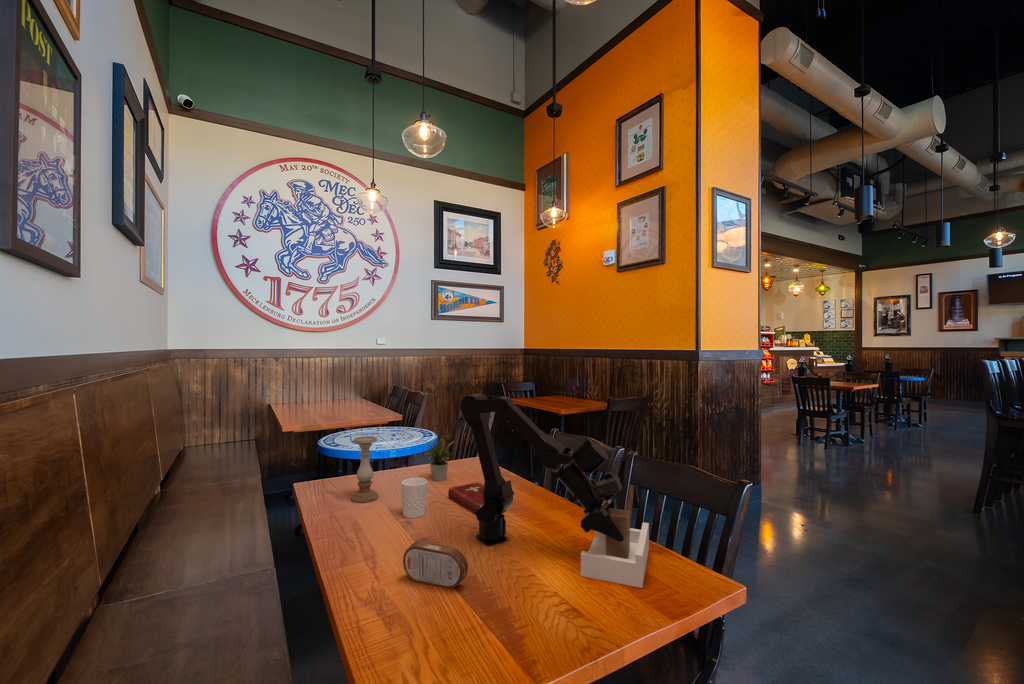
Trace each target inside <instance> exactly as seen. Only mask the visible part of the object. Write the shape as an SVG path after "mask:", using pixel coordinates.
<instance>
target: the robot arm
mask: <svg viewBox="0 0 1024 684" xmlns="http://www.w3.org/2000/svg"><path fill="white" fill-rule="evenodd" d="M459 409H460V412H461V415H462V416H463V419H464V421H465V422H466V424H467V425H468V426H469V427H470V429H471V431H472V434H473V440H474V444H475V448H476V452H477V455H478V460H479V463H480V468H481V473H482V475H483V480H484V483H483V484H484V491H483V498H484V505H483V506H482V507H481V508H480V509H479V510H477V511H476V515H475V517H476V519H477V521H478V534H476V535H475V538H476V539H478V540H479V541H480V542H481V543H482V544H484V545H486V546H487V547H488V546H492V545H495V544H500V543H502V542H506V541H508V537H507V533H506V531H507V529H506V527H507V525H506V524H507V520H506V518H505V513H506V509H507V508H508V507H509V506H510V505H511V506H512V504H513V502H514V496H515V492H514V490H513V487H512V481H511V480H510V479H509V480H506V479H505V478H504V477H503V475H502V471H501V469H500V465H499V460H498V455H497V454H496V453H497V452H496V449H495V445H494V441H493V437H492V433H491V429H490V425H489V421H490V415H491V413H499V415H501V416H502V417H503V419H505V420H506V421H507V422H508V423H509V424H510V425H511V426H512V427H513V429H515V430H516V431H517V432H518V433H519V435H521V437H523V439H524V440H526V441H527V443H528V444H529V445H530V447H531V449H532V451H533V454H534V455H535V457H536V458H537V460H539V462H540V464H541V465H542V466H543V467H545V468H546V469H552V470H551V471H550V483H551V484H554V483H555V482H556V481H557V480H558V479H559V481H560V482H561V484H563V485H564V487H565V488H566V489H567V490H568V491H569V492H570V494H571V495H572V497H571V499H572V500H573V502H575V501H578V503H579V504H580V505H581V507H582V508H583V513H584V515H583V516H582V518H581V520H580V528H581V529H582V530H583V531H584V533H586V534H588V533H589V532H590V531H594V532H595V531H597V532H600V533H602V534H604V535H606V536H609V537H611V538H613V539H615V540H617V541H619V542H622V541H623V540H624V538H623V537H622V535H621V533H620V532H619V531H618V529H617V528H616V526H615V525H614V523H613V522H612V520H611V510H610V511H609V512H608V510H609V508H613V509H617V507H616V504H617V503H616V502H617V498H614V497H616V495H618V494H620V493H621V492H622V489H623V486H622V483H621V478H620V477H619V476H618V474H615V473H613V472H612V471H609V472H605V474H604V479H601V480H599V481H596V479H595V478H591V479H590V478H589V477H588V476H587V475H586V474H587V473H588V474H593V473H594V472H595V471H596V470H597V469H599V468H600V467H601V466H602V465H603V464H604V463H605V462H607V461H608V460H609V455H608V454H607V452H606V451H605V449H604V448H603V446H602V445H599V444H598V443H597V442H595V441H593V440H592V439H591V438H589V437H588V438H587V439H586V440H585V441H584V442H583V443H582V445H581V446H579V448H577V449H576V448H572V447H568V446H565V445H564V444H563V443H562V442H561V441H559V440H557V439H556V438H555V437H553V435H550V434H548V433H545V432H544V431H543V430H542V429H540V428H539V426H537V425H536V424H535V423H534V422H533V421H532V420H531V419H530V418H529V417H528V416H527V414H525V413H524V412H523V411H522V410H521V409H520V407H518V406H517V405H516V404H515V403H514V402H513V400H512V399H511V397H509V396H507V395H505V396H486V395H484V394H482V393H474V394H470V395H466V396H464V397H463V398H462V399H461V401H460V403H459ZM571 460H572V462H571V463H570V464H568V463H569V462H570V461H571ZM560 465H561V466H560ZM558 466H560V467H559V468H558V469H555V468H556V467H558ZM612 497H613V499H612V500H611V498H612Z"/></svg>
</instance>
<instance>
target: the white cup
mask: <svg viewBox="0 0 1024 684" xmlns="http://www.w3.org/2000/svg"><path fill="white" fill-rule="evenodd" d="M400 483H401V484H400V485H401V503H402V505H401V506H402V515H403V517H405V518H409V519H416V518H420V517H423V516H424V515H425V514H426V507H427V506H426V505H427V500H428V499H427V497H428V496H427V495H428V479H426V478H423V477H410V478H406V479H404V480H401V482H400Z"/></svg>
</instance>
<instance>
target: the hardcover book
mask: <svg viewBox="0 0 1024 684" xmlns="http://www.w3.org/2000/svg"><path fill="white" fill-rule="evenodd" d="M483 491H484V483H482V482H480V481H476V482H471V483H466V484H461V485H457V486H450V487H449V488H448V492H447V493H448V499H449V500H451V501H452V502H454V503H456V504H458V505H459V506H460V507H463V508H464V509H465V510H468V511H469V512H471V513H472V514H473V513H474V515H475V516H476V511H477V510H479V509H480V508H481V507H482V506H483V505H484V498H483ZM511 506H512V504H511V505H510V506H509V507H508V508H507V509H506V510H508V511H511V510H512V509H511V508H512V507H511ZM510 509H511V510H510Z"/></svg>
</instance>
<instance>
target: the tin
mask: <svg viewBox="0 0 1024 684" xmlns="http://www.w3.org/2000/svg"><path fill="white" fill-rule="evenodd" d="M402 556H403V557H402V558H403V559H402V564H403V569H404V571H405V573H406V575H407V576H408V577H409V578H410V579H411V580H413V581H415V582H418V583H421V584H426V585H430V586H431V585H432V586H435V587H441V588H445V589H453V588H456V587H457V586H459V585H460V584H461V583H462V582H463V581H464V580H465V578H466V577H467V574H468V570H469V565H468V561H467V559H466V556H465V554H464V553H463V552H462V551H461V550H459V548H457V547H455V546H451V545H448V544H447V545H446V544H441V543H436V542H431V541H427V540H416V541H415V542H413V543H411V545H410V546H409V547H408V548H407V549H406V550H405V552H404V553H403V555H402Z"/></svg>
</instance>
